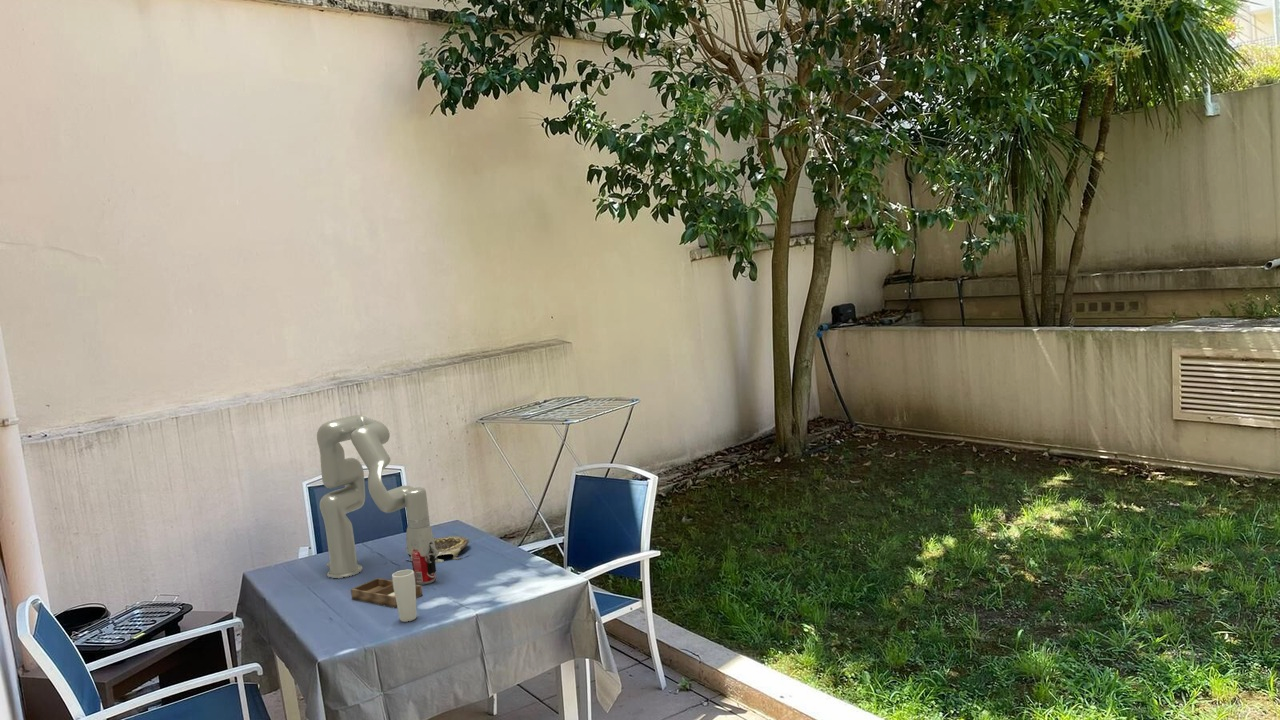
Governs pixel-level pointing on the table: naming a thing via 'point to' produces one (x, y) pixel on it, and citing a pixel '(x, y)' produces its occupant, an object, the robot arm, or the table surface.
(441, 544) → the pie
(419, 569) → the soda can
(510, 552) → the table surface
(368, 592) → the wooden compartment tray
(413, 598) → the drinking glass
